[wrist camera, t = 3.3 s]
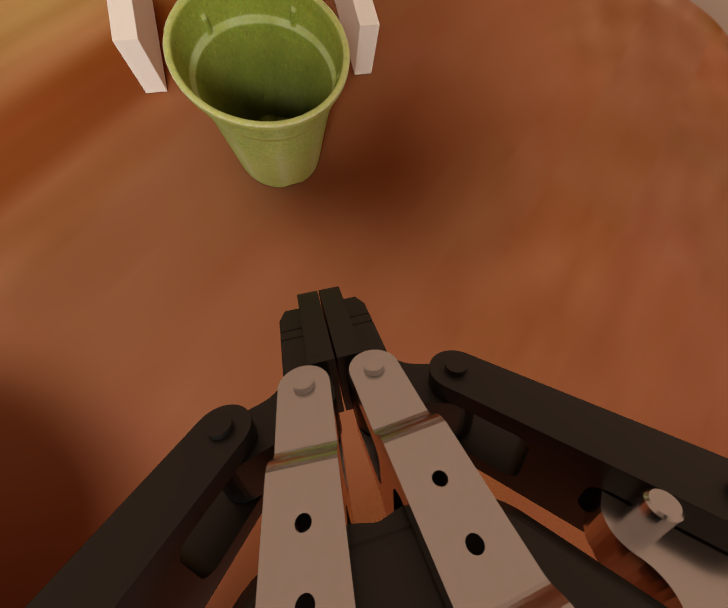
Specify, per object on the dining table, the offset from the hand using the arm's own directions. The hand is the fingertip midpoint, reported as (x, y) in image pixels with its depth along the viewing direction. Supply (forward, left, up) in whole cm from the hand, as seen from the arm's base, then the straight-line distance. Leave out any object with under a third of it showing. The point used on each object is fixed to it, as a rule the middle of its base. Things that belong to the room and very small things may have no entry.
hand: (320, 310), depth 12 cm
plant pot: (0, +15, -11) cm, 19 cm away
